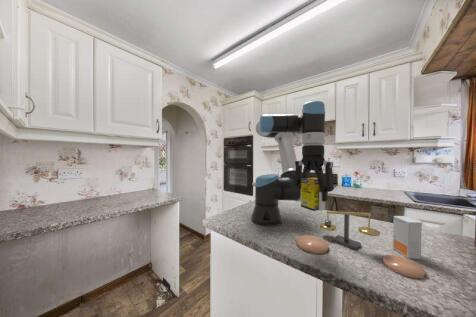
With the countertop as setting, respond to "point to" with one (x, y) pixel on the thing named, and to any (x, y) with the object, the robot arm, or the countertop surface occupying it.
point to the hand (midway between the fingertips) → (312, 207)
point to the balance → (345, 239)
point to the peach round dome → (312, 244)
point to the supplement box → (310, 193)
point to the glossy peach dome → (403, 266)
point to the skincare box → (407, 236)
